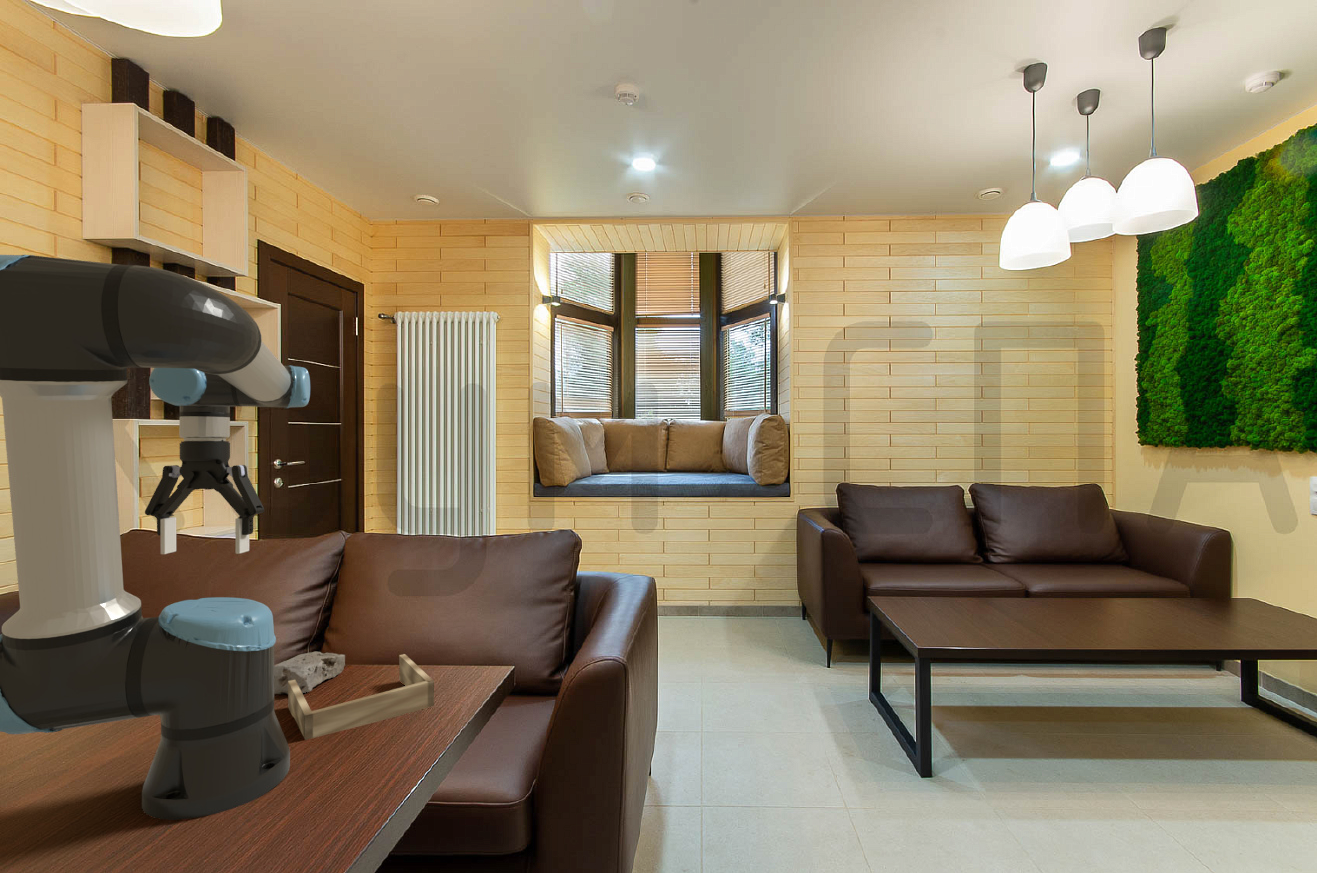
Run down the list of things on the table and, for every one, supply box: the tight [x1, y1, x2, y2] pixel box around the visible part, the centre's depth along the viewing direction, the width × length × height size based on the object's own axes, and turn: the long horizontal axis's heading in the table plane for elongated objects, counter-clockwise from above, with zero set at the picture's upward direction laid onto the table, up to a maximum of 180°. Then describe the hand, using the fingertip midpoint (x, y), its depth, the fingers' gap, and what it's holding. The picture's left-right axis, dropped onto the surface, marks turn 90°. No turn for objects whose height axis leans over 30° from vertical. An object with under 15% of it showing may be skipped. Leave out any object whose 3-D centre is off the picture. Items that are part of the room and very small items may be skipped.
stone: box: [274, 651, 346, 695], centre depth 110 cm, size 13×6×10 cm
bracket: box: [287, 653, 435, 741], centre depth 99 cm, size 16×19×5 cm
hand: (205, 552), depth 110 cm, fingers open, 13 cm apart
